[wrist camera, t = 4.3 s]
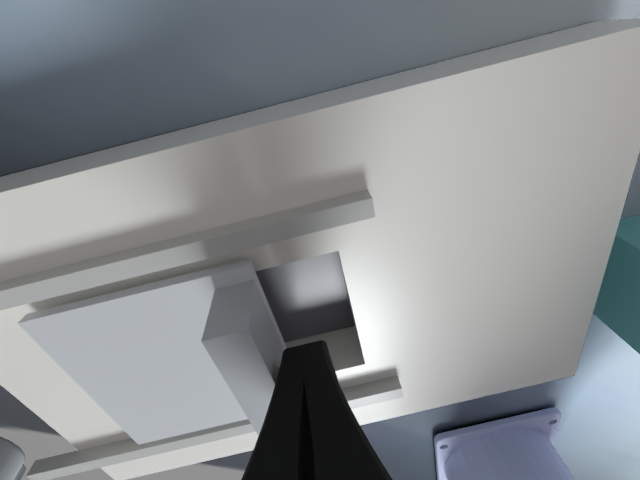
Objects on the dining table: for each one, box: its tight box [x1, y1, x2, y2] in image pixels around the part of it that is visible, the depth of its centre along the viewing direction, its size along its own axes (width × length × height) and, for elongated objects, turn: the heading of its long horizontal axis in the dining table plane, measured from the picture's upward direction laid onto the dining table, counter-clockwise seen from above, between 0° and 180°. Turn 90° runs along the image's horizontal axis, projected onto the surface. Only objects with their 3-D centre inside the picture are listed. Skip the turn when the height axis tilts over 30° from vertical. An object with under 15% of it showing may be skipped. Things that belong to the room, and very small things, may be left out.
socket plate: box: [0, 19, 640, 480], centre depth 13 cm, size 14×24×3 cm, turn 103°
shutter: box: [17, 258, 287, 445], centre depth 11 cm, size 7×7×2 cm
